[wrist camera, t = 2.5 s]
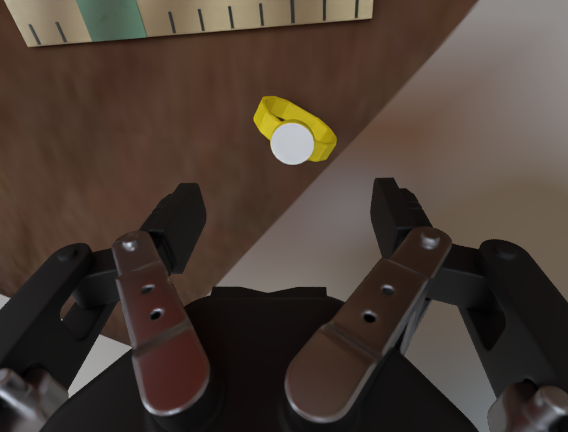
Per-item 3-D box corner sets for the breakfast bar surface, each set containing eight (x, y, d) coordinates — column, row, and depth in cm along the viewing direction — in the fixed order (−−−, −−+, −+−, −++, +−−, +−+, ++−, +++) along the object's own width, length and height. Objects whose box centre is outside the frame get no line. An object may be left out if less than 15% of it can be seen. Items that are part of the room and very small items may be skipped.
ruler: (375, -44, 17) (377, -45, 17) (370, 18, 19) (372, 18, 18) (7, -6, 19) (-1, -6, 19) (33, 46, 21) (27, 47, 21)
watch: (339, 118, 23) (348, 149, 18) (321, 147, 24) (324, 183, 20) (270, 79, 21) (260, 102, 17) (255, 113, 23) (241, 142, 18)
